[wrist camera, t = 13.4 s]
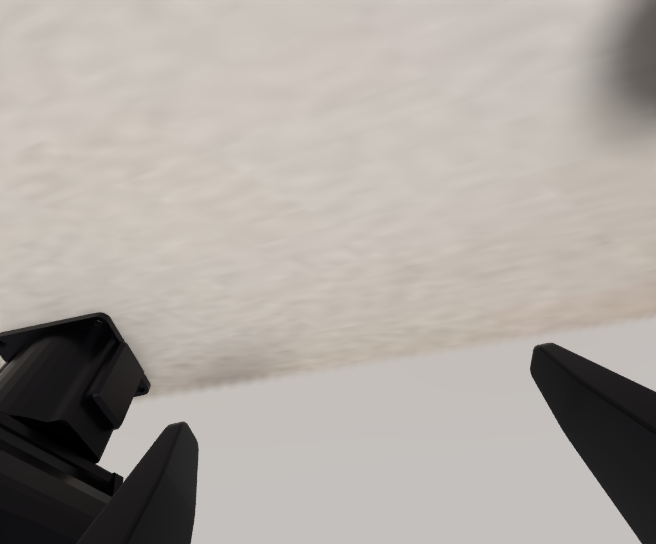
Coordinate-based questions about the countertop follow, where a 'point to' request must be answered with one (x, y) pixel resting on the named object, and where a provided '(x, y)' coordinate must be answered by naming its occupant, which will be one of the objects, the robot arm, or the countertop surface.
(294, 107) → the countertop surface
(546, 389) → the robot arm
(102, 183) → the countertop surface
